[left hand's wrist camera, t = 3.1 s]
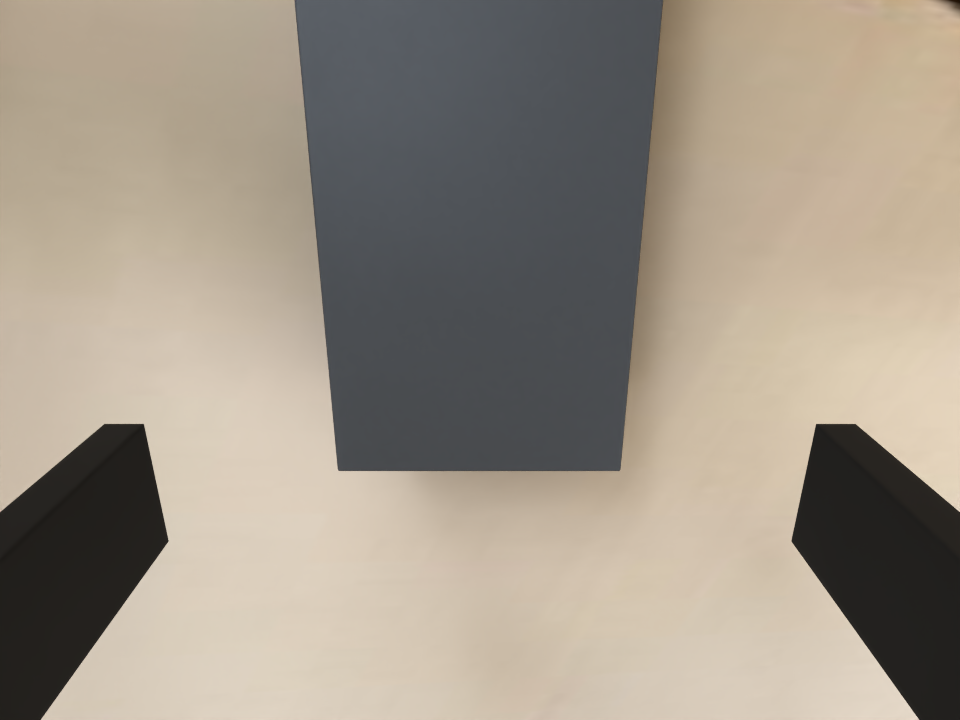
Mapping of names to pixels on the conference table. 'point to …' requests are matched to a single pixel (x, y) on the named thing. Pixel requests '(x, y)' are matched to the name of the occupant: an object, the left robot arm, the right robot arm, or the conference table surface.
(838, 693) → the conference table surface
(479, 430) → the long grey beam
